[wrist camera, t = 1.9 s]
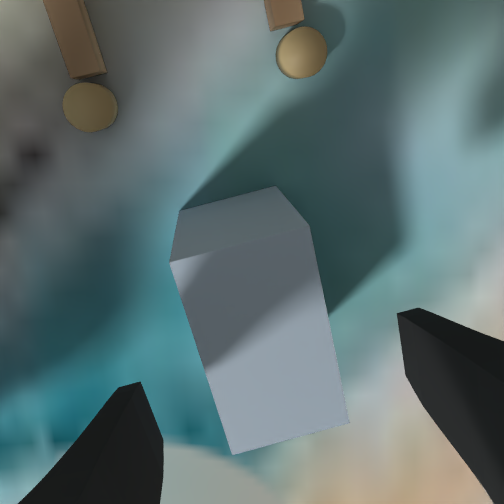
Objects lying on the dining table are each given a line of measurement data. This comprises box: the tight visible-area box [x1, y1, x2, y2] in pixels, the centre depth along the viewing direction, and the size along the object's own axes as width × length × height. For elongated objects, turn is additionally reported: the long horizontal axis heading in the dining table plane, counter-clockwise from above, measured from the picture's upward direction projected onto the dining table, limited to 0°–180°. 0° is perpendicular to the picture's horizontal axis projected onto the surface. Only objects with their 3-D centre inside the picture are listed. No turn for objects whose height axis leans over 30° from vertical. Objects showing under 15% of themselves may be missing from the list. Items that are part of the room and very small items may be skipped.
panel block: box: [169, 186, 350, 455], centre depth 16 cm, size 4×7×6 cm, turn 13°
